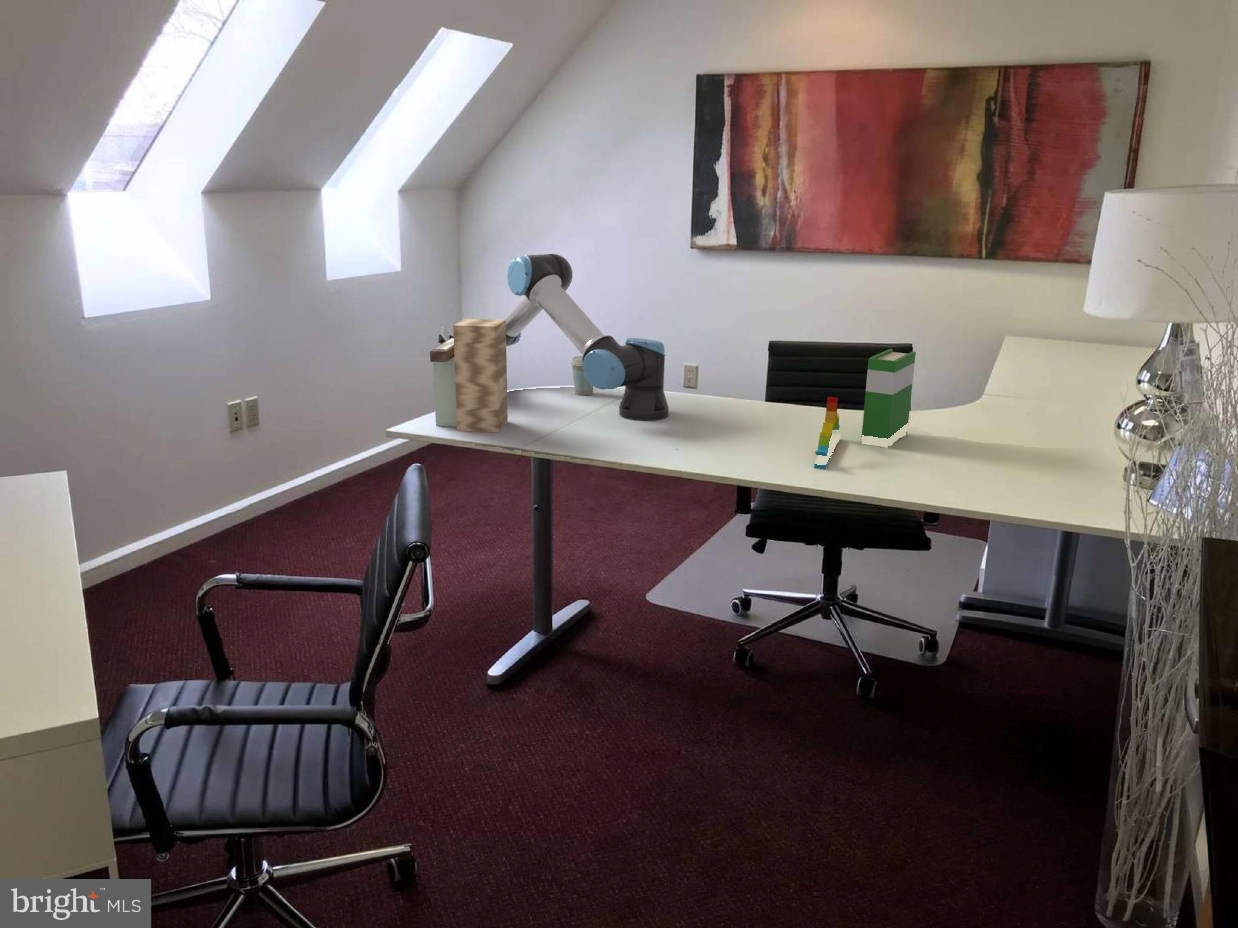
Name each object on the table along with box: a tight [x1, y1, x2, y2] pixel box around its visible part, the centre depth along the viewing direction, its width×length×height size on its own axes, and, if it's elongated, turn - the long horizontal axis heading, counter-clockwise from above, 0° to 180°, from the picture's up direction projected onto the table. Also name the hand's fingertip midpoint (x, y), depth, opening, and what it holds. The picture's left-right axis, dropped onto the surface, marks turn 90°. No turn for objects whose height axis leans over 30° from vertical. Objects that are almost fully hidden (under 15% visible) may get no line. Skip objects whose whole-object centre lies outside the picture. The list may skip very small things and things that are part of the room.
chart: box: [813, 396, 841, 470], centre depth 255 cm, size 30×3×15 cm, turn 161°
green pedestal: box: [432, 357, 457, 427], centre depth 279 cm, size 7×9×20 cm
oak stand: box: [452, 318, 509, 433], centre depth 274 cm, size 12×12×30 cm
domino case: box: [429, 338, 454, 363], centre depth 276 cm, size 4×22×3 cm, turn 174°
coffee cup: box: [571, 355, 595, 396], centre depth 318 cm, size 8×9×12 cm
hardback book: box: [861, 348, 917, 439], centre depth 268 cm, size 18×7×24 cm, turn 147°
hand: (464, 330), depth 291 cm, fingers open, 13 cm apart
